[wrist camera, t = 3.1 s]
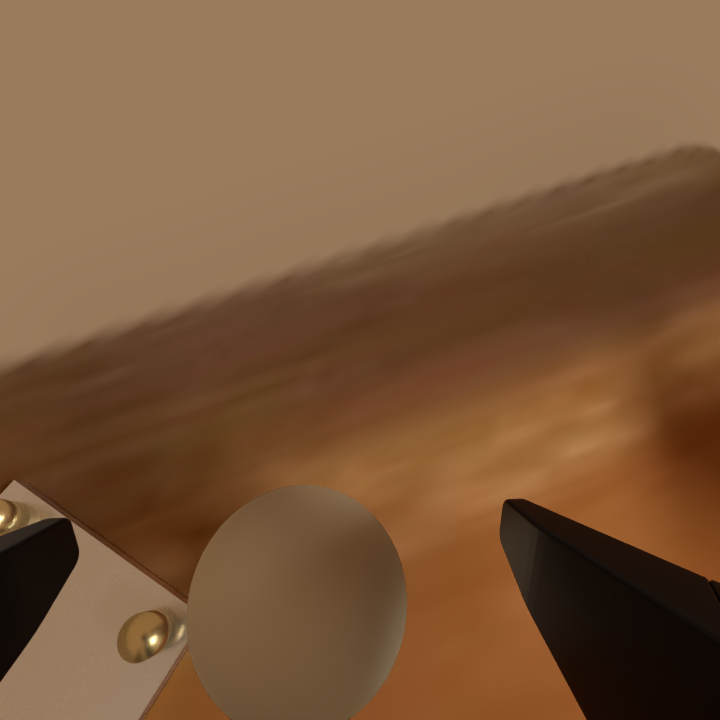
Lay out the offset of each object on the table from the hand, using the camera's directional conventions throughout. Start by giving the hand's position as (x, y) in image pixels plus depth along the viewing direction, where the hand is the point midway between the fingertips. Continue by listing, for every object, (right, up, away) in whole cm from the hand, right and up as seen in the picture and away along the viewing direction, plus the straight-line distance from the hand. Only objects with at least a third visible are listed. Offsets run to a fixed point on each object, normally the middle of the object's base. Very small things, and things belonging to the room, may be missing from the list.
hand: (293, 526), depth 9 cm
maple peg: (0, -6, +10) cm, 12 cm away
